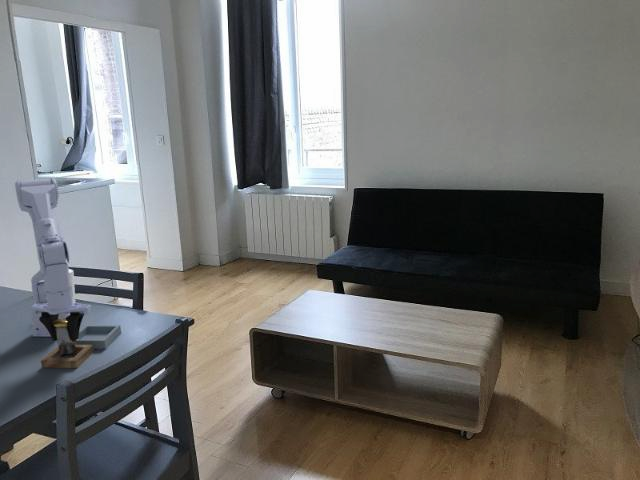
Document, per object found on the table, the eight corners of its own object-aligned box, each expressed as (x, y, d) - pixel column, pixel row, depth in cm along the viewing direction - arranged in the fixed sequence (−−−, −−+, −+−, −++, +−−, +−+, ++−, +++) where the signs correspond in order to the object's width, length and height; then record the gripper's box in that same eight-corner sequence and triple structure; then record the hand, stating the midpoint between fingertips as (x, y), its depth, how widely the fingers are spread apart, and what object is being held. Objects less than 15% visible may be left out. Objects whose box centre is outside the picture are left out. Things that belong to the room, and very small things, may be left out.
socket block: (42, 367, 132) (40, 360, 131) (60, 351, 140) (59, 344, 140) (77, 368, 131) (76, 360, 131) (94, 351, 140) (93, 344, 139)
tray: (69, 348, 142) (68, 340, 141) (87, 333, 151) (86, 325, 151) (105, 349, 141) (104, 340, 141) (121, 333, 151) (120, 325, 150)
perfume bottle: (65, 305, 173) (59, 261, 169) (79, 305, 173) (73, 261, 169) (60, 310, 168) (53, 266, 164) (74, 310, 168) (68, 265, 165)
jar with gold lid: (53, 354, 133) (49, 324, 131) (63, 346, 137) (59, 317, 135) (71, 354, 133) (67, 325, 131) (80, 346, 137) (76, 317, 135)
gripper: (20, 294, 127) (29, 346, 131) (79, 295, 127) (86, 347, 130) (37, 285, 134) (44, 334, 138) (92, 285, 133) (99, 334, 137)
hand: (65, 339), depth 134 cm, fingers closed on jar with gold lid, 4 cm apart
